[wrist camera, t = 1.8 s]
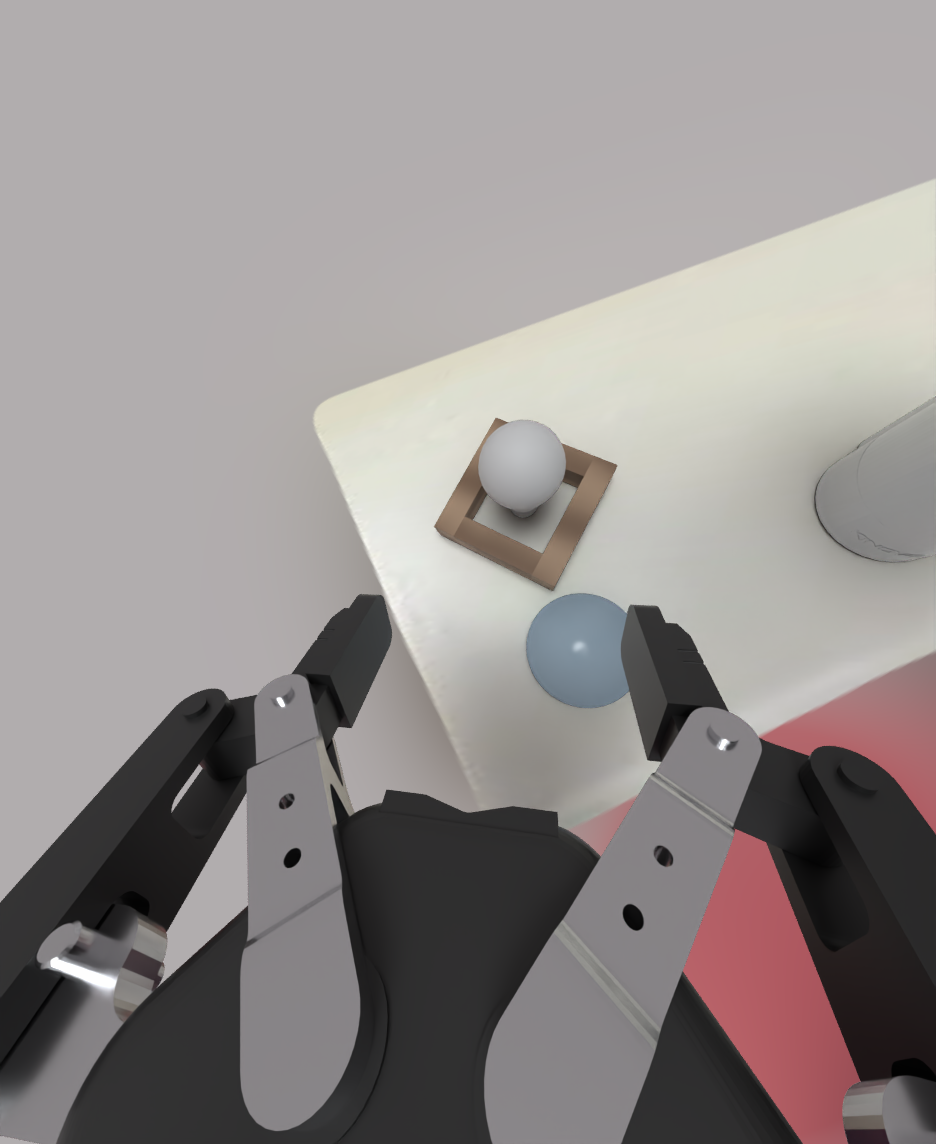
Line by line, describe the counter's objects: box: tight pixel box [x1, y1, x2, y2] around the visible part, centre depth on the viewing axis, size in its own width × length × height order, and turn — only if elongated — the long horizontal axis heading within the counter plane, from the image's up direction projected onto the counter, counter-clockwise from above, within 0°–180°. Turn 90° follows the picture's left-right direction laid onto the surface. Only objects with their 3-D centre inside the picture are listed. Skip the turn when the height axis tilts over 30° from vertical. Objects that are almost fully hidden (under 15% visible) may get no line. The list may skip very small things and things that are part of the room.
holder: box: [434, 418, 617, 591], centre depth 32 cm, size 12×12×2 cm
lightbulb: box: [478, 420, 566, 517], centre depth 28 cm, size 6×6×11 cm
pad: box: [527, 594, 629, 708], centre depth 30 cm, size 9×9×1 cm
